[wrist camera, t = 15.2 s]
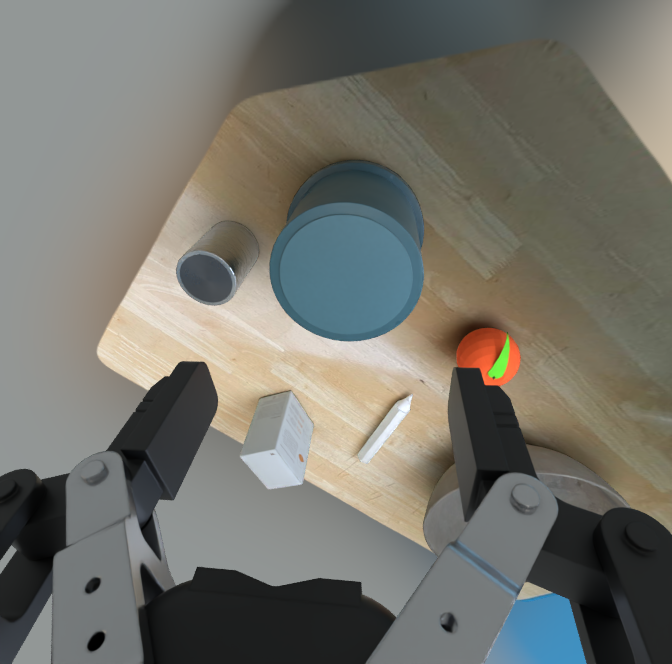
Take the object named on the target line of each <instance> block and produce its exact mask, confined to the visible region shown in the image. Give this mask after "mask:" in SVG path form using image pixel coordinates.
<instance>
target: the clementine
mask: <svg viewBox="0 0 672 664" xmlns="http://www.w3.org/2000/svg"><path fill="white" fill-rule="evenodd" d="M520 358H521V357H520V352H519V348H518V346H517V344H516V343H515V341H514V340H513V339H512V337H511V336H509V335H508V332H507V334H506V333H505V332H503V331H501V330H498V329H496V328H481V329H478V330H474V331H472V332H471V333H469V334H468V335H466V336H465V337H464V338H463V340H462V341H461V342H460V344H459V346H458V349H457V364H458V367H464V368H480V370H481V373H482V377H483V380H484V384H485V385H498V386H501V385H503V384H505V383H507V382H508V381H510V380H511V379H512V378H513V376H514V375H515V374H516V373H517V371H518V368H519V365H520Z"/></svg>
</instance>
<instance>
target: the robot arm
mask: <svg viewBox="0 0 672 664" xmlns="http://www.w3.org/2000/svg"><path fill="white" fill-rule="evenodd" d="M217 406H218V396H217V392H216V389H215V387H214V384H213V381H212V378H211V375H210V372H209V369H208V367H207V365H206V363H205V362H189V361H182V362H180V363H178V365H177V366H176V367H175V369H174V370H173V372H172V373H171V375H170V376H165V377H164V378H162V379H161V380H160V381H159V382H157V383H156V384H155V385H153V386H152V387H151V388H150V390H149V391H148V393H147V394H146V396H145V397H144V398H143V402H141V403H140V404H139V405H138V407H137V408H136V412H133V414H132V415H131V417H130V418H129V420H128V421H127V422H126V424H125V425H124V427H123V428H122V429H121V431H120V432H119V434H118V435H117V437H116V438H115V439H114V441H113V442H112V443H111V445H110V446H109V448H108V449H107V450H106V451H103V452H99V453H96V454H93V455H91V456H89V457H88V458H86V459H84V460H83V461H81V462H80V463H79V464H78V465H77V466H76V467H75V468H74V469H73V470H72V471H71V473H68V474H64V475H59V476H55V477H51V478H46V479H42V480H40V478H39V477H38V476H37V475H36V474H35V473H34V472H33V471H32V470H28V469H19V470H15V471H12V472H9V473H7V474H4V475H3V476H1V477H0V560H1V559H2V557H3V556H4V555H5V553H6V551H7V550H8V549H9V547H10V546H11V545H12V546H13V547H14V548H16V549H17V551H16V552H15V554H14V555H13V557H12V559H11V560H10V561H9V563H8V564H7V565H6V567H5V568H4V570H3V571H2V573H1V574H0V664H12V662H13V660H14V658H15V656H16V655H17V653H18V651H19V650H20V648H21V646H22V644H23V643H24V641H25V639H26V637H27V636H28V634H29V632H30V630H31V629H32V627H33V625H34V623H35V622H36V620H37V618H38V616H39V615H40V613H41V611H42V609H43V608H44V606H45V604H46V602H47V601H48V599H49V597H50V595H51V594H52V595H53V596H52V645H51V648H52V649H51V664H484V663H485V661H486V659H487V657H488V655H489V653H490V651H491V649H492V646H493V645H494V643H495V641H496V639H497V637H498V635H499V633H500V631H501V629H502V627H503V625H504V623H505V621H506V619H507V617H508V615H509V613H510V611H511V609H512V607H513V605H514V603H515V601H516V599H517V597H518V595H519V593H520V591H521V589H522V587H523V585H524V583H525V581H527V582H530V583H532V584H534V585H537V586H539V587H541V588H544V589H546V590H548V591H551V592H553V593H555V594H558V595H560V596H563V597H565V598H568V599H569V601H570V604H571V608H572V612H573V615H574V619H575V623H576V626H577V630H578V634H579V637H580V641H581V645H582V648H583V652H584V656H585V659H586V663H587V664H672V535H671V533H670V532H669V531H668V530H667V529H666V528H665V527H664V526H663V525H662V524H660V523H659V522H658V521H657V520H655V519H654V518H652V517H650V516H649V515H647V514H645V513H643V512H640V511H638V510H635V509H631V508H625V507H618V508H613V509H610V510H608V511H607V512H606V513H605V514H604V515H600V514H597V513H594V512H591V511H588V510H585V509H582V508H579V507H576V506H573V505H571V504H568V503H566V502H564V501H562V500H560V499H559V498H557V497H556V496H554V494H553V493H552V492H551V490H550V489H549V488H548V487H547V486H546V485H545V484H544V483H542V482H541V481H540V480H539V478H538V477H537V474H536V472H535V469H534V466H533V463H532V460H531V458H530V455H529V452H528V449H527V446H526V443H525V440H524V438H523V435H522V432H521V429H520V428H519V423H518V420H517V417H516V416H515V412H514V409H513V406H512V403H511V400H510V398H509V397H508V396H507V395H506V394H505V392H504V391H503V390H502V389H501V388H500V387H499V386H498V385H485V384H484V380H483V377H482V373H481V370H480V368H464V367H454V368H453V372H452V378H451V386H450V393H449V400H448V422H449V428H450V434H451V441H452V447H453V453H454V459H455V466H456V472H457V478H458V484H459V490H460V497H461V503H462V509H463V515H464V522H468V523H467V525H466V526H465V528H464V529H463V531H462V532H461V534H460V535H459V536H458V538H457V539H456V540H455V541H454V542H453V541H451V542H450V543H448V544H447V546H446V547H445V548H444V549H443V551H442V552H441V553H440V555H439V556H438V558H437V559H436V561H435V562H434V564H433V565H432V567H431V568H430V570H429V571H428V572H427V574H426V575H425V577H424V578H423V580H422V581H421V583H420V584H419V586H418V587H417V589H416V590H415V592H414V593H413V595H412V596H411V597H410V599H409V600H408V602H407V603H406V605H405V606H404V608H403V609H402V611H401V612H400V613H399V615H398V616H397V618H396V617H395V616H394V615H393V614H392V613H391V612H390V611H389V610H388V609H387V608H385V607H384V606H383V605H381V604H380V603H378V602H376V601H375V600H373V599H372V598H369V597H367V596H365V595H362V587H361V582H355V581H344V580H332V579H322V578H318V579H312V580H307V581H302V582H297V583H292V584H287V585H282V586H270V585H268V584H266V583H264V582H261V581H259V580H257V579H254V578H252V577H250V576H247V575H245V574H243V573H241V572H238V571H236V570H226V569H215V568H204V567H197V569H196V571H195V574H194V577H193V579H192V580H190V581H187V582H184V583H181V584H179V585H177V586H176V585H175V583H174V580H173V578H172V576H171V573H170V571H169V568H168V564H167V560H166V555H165V550H164V546H163V542H162V537H161V532H160V527H159V522H158V518H157V514H156V511H155V510H154V508H155V506H156V504H157V502H158V500H159V499H161V500H174V499H175V497H176V494H177V492H178V490H179V488H180V486H181V484H182V482H183V480H184V478H185V476H186V474H187V471H188V469H189V467H190V465H191V463H192V461H193V459H194V457H195V455H196V453H197V451H198V449H199V447H200V444H201V442H202V440H203V438H204V436H205V434H206V432H207V430H208V428H209V426H210V424H211V422H212V420H213V417H214V415H215V413H216V410H217Z"/></svg>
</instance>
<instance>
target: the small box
mask: <svg viewBox="0 0 672 664" xmlns="http://www.w3.org/2000/svg"><path fill="white" fill-rule="evenodd" d="M313 427H314V424H313V423H312V421H311V420H310V418H309V417H308V415H307V414H306V412H305V411H304V409H303V408H302V406H301V405H300V403H299V402H298V400H297V399H296V397H295V396H294V394H293V393H292V391H288V392H284V393H280V394H276V395H272V396H268V397H264V398H260V399H259V402H258V405H257V408H256V411H255V413H254V416H253V419H252V422H251V425H250V427H249V430H248V433H247V436H246V439H245V441H244V444H243V447H242V450H241V453H240V458H241V459H242V460H243V461H244V462H245V463H246V464H247V466H248V467H249V468H250V469H251V470H252V471H253V473H254V474H255V475H256V476H257V477H258V478H259V479H260V481H261V482H262V483H263V484H264V485H265V486H266V487H267V489H275V488H281V487H288V486H294V485H301V484H302V483H303V479H304V474H305V469H306V463H307V458H308V453H309V448H310V442H311V437H312V432H313Z"/></svg>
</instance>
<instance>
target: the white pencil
mask: <svg viewBox="0 0 672 664" xmlns="http://www.w3.org/2000/svg"><path fill="white" fill-rule="evenodd" d="M412 396H413V394H412V395H410V396H408V397H407V398H405V399H403V400H398V401H397V402H396V403H395V405H394V406H393V407H392V409H391V410H390V411H389V413H388V414H387V415H386V417H385V418H384V419H383V421H382V422H381V423H380V425H379V426H378V427H377V429H376V430H375V431H374V433H373V434H372V435H371V437H370V438H369V439H368V441H367V442H366V444H365V445H364V446H363V448H362V449H361V450H360V452H359V453H358V454H357V456H358V458H359V460H360V462H363V463H366V464H368V462H369V461H370V460H371V459H372V458H373V456H374V455H375V454H376V453H377V451H378V450H379V449H380V448H381V446H382V445H383V444H384V443H385V441H386V440H387V439H388V438H389V436H390V435H391V434H392V433H393V431H394V430H395V429H396V428H397V426H398V425H399V424H400V423H401V421H402V420H403V419H404V417H405V416H406V415H407V414H408V412H409V411H410V410H411V409H410V403H411V400H412Z"/></svg>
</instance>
